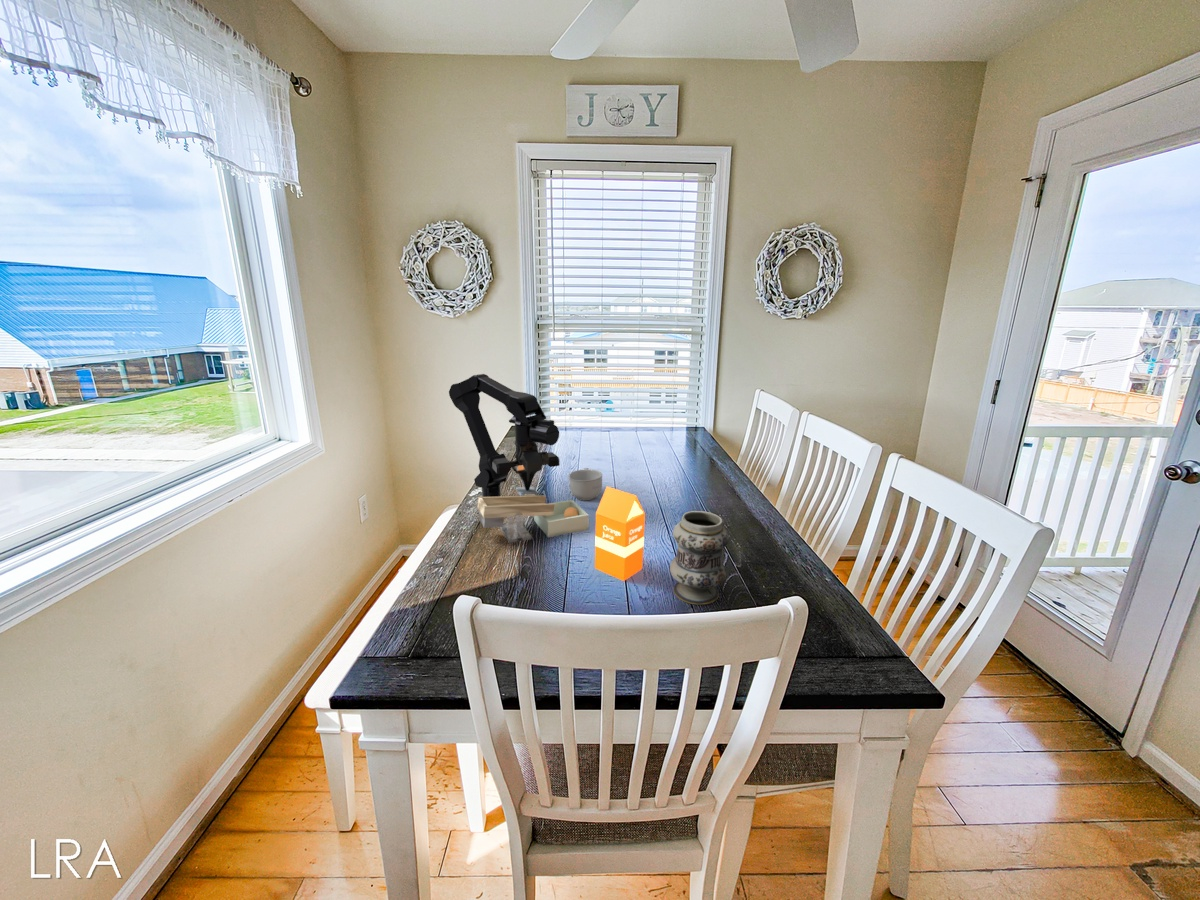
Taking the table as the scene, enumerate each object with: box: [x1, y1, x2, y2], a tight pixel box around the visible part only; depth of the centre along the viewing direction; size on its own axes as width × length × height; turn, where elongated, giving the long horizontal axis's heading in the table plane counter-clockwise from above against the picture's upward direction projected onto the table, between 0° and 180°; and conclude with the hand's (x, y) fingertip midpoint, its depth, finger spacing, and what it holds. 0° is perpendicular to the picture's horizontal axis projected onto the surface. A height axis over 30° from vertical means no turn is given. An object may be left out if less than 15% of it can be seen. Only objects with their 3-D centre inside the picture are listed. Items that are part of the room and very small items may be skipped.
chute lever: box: [477, 486, 554, 529], centre depth 139 cm, size 17×19×6 cm
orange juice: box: [594, 486, 646, 582], centre depth 116 cm, size 8×9×20 cm
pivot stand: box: [498, 513, 532, 544], centre depth 135 cm, size 10×6×8 cm, turn 26°
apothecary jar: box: [669, 510, 730, 606], centre depth 108 cm, size 12×12×18 cm
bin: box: [533, 499, 590, 538], centre depth 141 cm, size 12×12×4 cm
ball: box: [564, 507, 578, 518], centre depth 142 cm, size 4×4×4 cm
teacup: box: [568, 467, 603, 501], centre depth 163 cm, size 14×11×8 cm
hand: (527, 490), depth 146 cm, fingers closed, pressing on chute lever
